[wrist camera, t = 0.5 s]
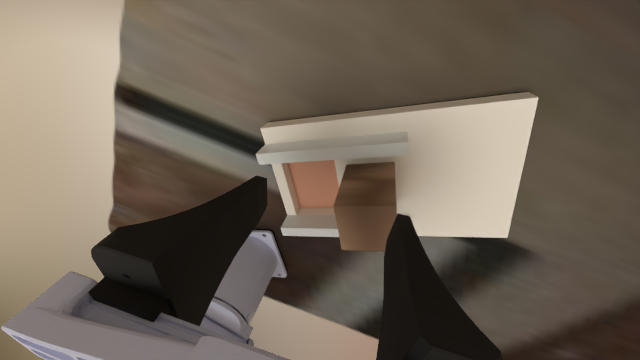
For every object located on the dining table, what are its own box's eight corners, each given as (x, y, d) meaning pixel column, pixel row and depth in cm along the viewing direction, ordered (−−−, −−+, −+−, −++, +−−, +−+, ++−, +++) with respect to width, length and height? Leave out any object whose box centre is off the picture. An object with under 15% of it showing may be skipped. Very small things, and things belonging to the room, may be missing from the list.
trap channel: (297, 224, 29) (286, 246, 26) (267, 122, 24) (249, 137, 21) (501, 226, 24) (516, 255, 21) (528, 91, 18) (555, 106, 15)
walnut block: (352, 202, 24) (341, 249, 19) (346, 164, 22) (333, 206, 17) (396, 201, 23) (398, 252, 18) (394, 161, 21) (395, 205, 16)
